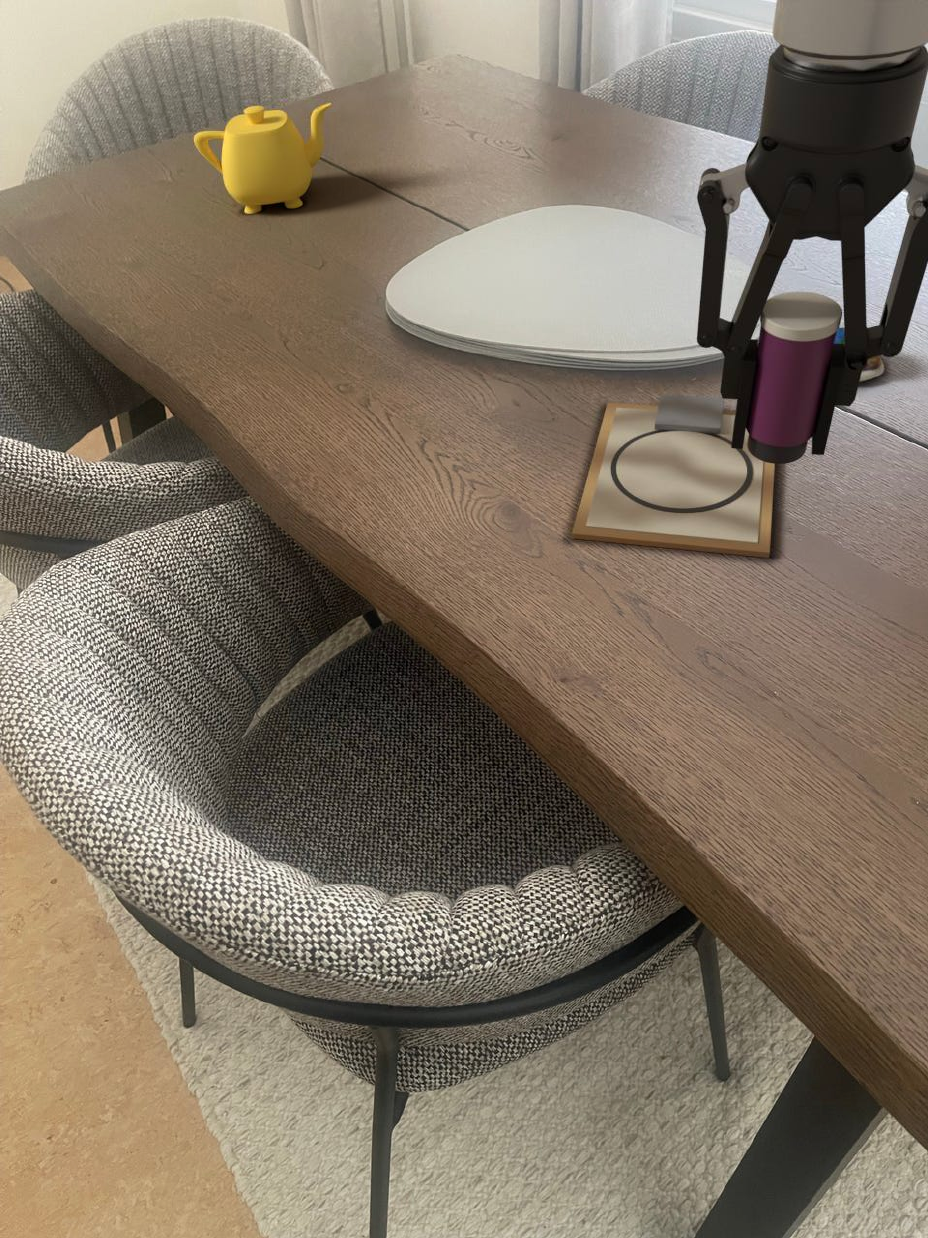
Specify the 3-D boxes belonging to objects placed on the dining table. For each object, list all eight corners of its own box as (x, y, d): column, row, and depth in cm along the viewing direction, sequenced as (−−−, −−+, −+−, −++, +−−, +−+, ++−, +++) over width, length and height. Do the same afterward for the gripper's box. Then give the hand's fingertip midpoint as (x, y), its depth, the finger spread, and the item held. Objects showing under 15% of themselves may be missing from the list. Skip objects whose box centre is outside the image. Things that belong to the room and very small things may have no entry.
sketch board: (768, 558, 75) (771, 545, 74) (572, 538, 79) (571, 525, 78) (777, 414, 89) (779, 401, 88) (608, 403, 93) (609, 390, 92)
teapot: (346, 207, 133) (330, 113, 125) (208, 225, 133) (181, 132, 125) (346, 173, 143) (331, 83, 134) (216, 189, 143) (192, 101, 134)
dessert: (905, 355, 92) (893, 323, 88) (867, 412, 93) (853, 383, 88) (833, 335, 97) (818, 303, 93) (798, 389, 98) (781, 360, 93)
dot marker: (812, 470, 61) (843, 331, 54) (738, 465, 62) (760, 327, 55) (812, 429, 64) (842, 292, 57) (742, 424, 65) (763, 289, 58)
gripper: (1037, 16, 46) (914, 416, 63) (676, 26, 50) (652, 399, 67) (1062, 67, 41) (922, 486, 58) (660, 73, 45) (638, 462, 62)
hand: (777, 438), depth 62 cm, fingers closed on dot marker, 4 cm apart
